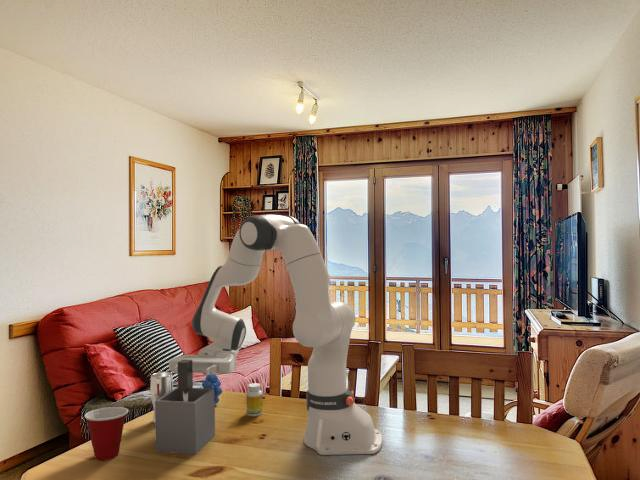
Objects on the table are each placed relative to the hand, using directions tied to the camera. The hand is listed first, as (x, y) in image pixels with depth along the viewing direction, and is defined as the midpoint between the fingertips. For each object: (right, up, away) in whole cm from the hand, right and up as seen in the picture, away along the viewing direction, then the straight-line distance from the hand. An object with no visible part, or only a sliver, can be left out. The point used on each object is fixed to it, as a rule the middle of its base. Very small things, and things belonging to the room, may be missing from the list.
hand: (190, 371), depth 129 cm
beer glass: (-13, -20, +14) cm, 28 cm away
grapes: (+1, -20, +24) cm, 31 cm away
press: (0, -20, -3) cm, 20 cm away
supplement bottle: (+16, -20, +18) cm, 31 cm away
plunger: (0, -18, -3) cm, 18 cm away
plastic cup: (-20, -20, -10) cm, 30 cm away
